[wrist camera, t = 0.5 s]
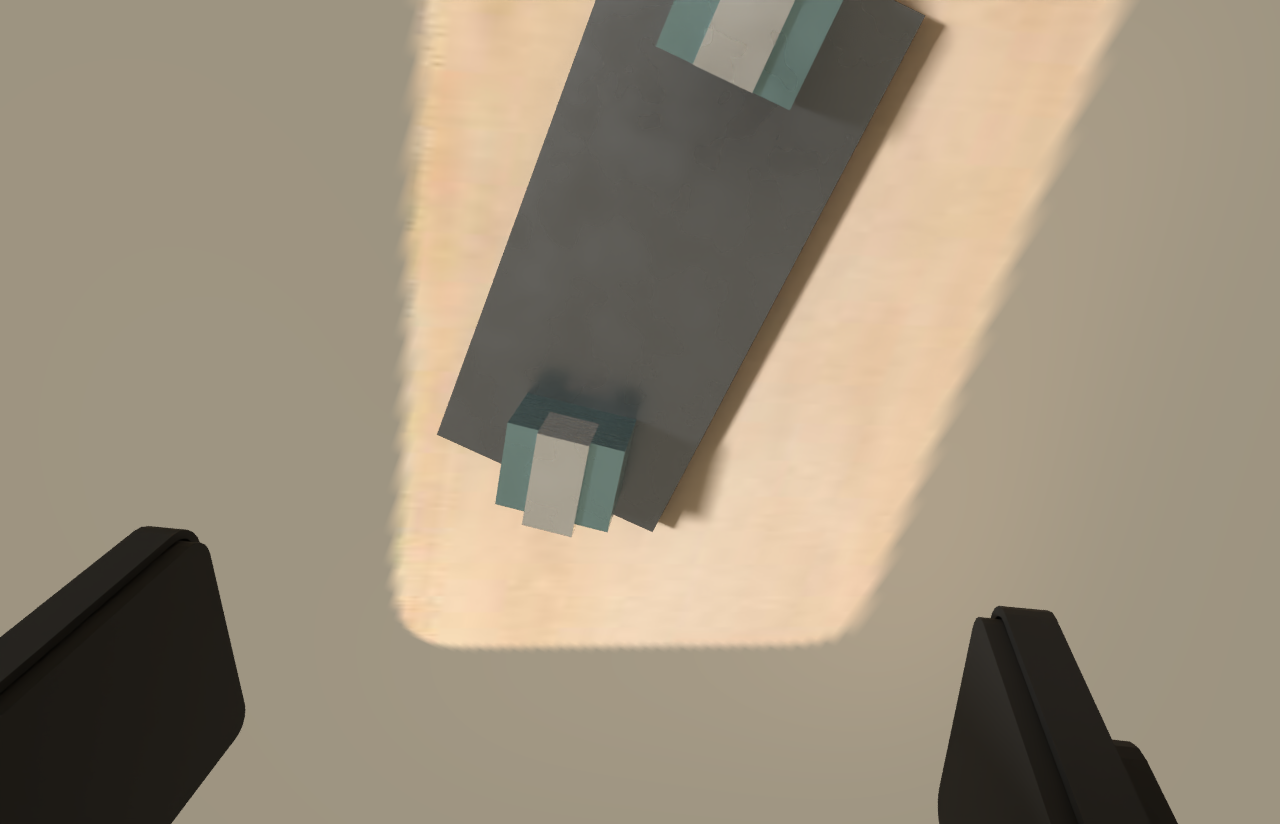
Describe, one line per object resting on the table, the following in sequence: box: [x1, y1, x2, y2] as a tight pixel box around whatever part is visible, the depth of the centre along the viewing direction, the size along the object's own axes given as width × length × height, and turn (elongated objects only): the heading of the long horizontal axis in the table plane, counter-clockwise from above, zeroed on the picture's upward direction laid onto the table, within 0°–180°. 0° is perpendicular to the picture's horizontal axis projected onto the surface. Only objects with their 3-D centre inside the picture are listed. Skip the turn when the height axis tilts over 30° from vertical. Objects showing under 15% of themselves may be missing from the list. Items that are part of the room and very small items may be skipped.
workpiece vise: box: [437, 0, 925, 537], centre depth 34 cm, size 24×11×4 cm, turn 157°
